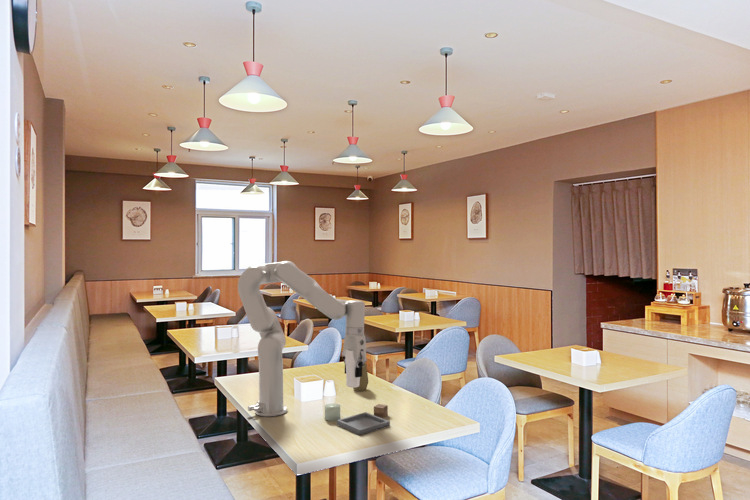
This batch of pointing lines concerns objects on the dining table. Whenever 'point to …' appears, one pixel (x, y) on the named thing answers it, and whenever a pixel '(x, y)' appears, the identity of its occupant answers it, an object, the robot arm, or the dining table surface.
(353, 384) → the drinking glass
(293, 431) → the dining table surface
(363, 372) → the squeeze bottle
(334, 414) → the pale green rounded cylinder
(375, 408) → the walnut block
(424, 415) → the dining table surface
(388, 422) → the slate tray
